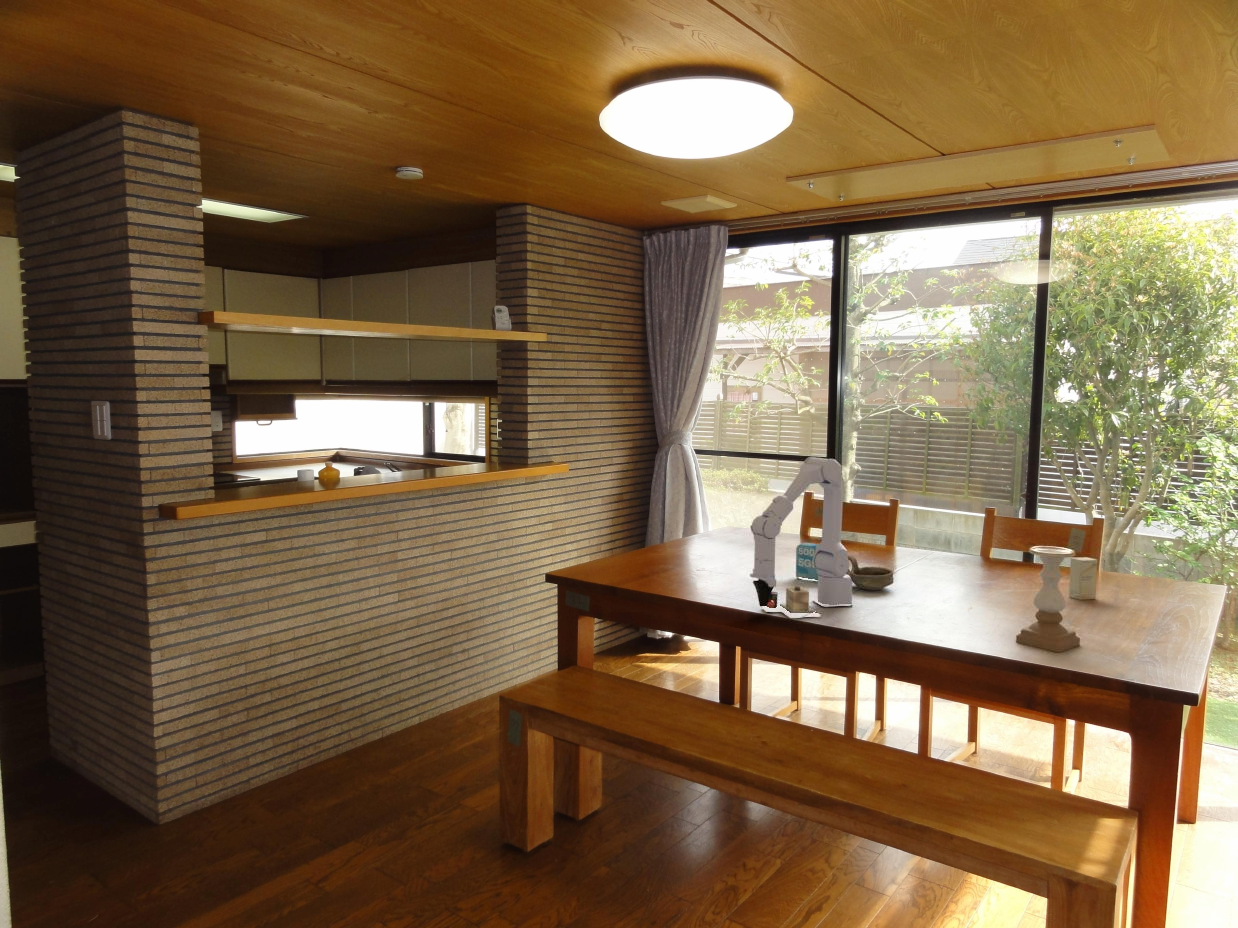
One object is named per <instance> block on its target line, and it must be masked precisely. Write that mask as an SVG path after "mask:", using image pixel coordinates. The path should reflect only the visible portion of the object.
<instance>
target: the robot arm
mask: <svg viewBox="0 0 1238 928" xmlns="http://www.w3.org/2000/svg"><path fill="white" fill-rule="evenodd" d="M842 474H843V465H841V463H839V462H838V460H836V459H834V458H821V457H815V456H809V457H807V458H806V459H805V460H804V462H803V463H801V464H800V467H799V472H798V474H797V475H796V477H795V478H794V480H792V482H791V484H790V485H789V487H788V488H787V490H786V491H785V493H784V494H783V495H777V496H776V497H774V498H773V499H772V500H771V501H772V502H771V503H770V505H769V506H768V507H767V508H766V509H765V510H763V512H762V514H761V515H758V516H756V517H755V518H753V521H752V522H751V525H750V531H751V533H752V535H753V540H754V553H753V554H754V557H753V559H754V560H753V568H752V573H750V574H749V577H751V578H753V579H754V578H755V579H756V580H753V581H752V583H753V585H754V588H755V590H756V591H755V592H756V594H757V600H758V604H759V607H762V606H767V602H768V601H769V598H770V594H771V592H773V590H774V588H776V587H777V578H776V573H775V572H776V570H775V569H776V568H775V567H776V562H775V561H776V537H777V536H778V535H779V534H780V533H781V527H782V525H783V523H784V521H785V520H786V519H787V517H789V515H790V514H791V512H792V511H793V510H794V502H795V501H796V500H797V499H798V498H799V497H800V496H801V495H802V494H803V493H804V492H805V490H806V489H808V487H809V486H810V485H813V484H818V485H819V486H820V487H821V488H822V489H823V501H822V502H823V506H822V525H821V526H822V529H821V530H822V531H821V542H819V543H817V544H818V545H817V546H816V552H815V555H814V557H813V565H814V567H815V569H817V573H818V582H817V599H818V602H820V603H822V604H829V605H837V604H838V605H839V604H853V582H852V581H851V578H850V576H849V575H847V574H846V573H847V571H848V569H849V570H850V560H848V556H847V555H848V550H847V549H846V547H845V546H844V544H842V528H843V527H842V526H843V525H842V524H843V523H842V522H843V507H844V506H843V505H844V504H843V503H844V480H843V477H842Z"/></svg>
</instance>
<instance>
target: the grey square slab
mask: <svg viewBox="0 0 1238 928" xmlns="http://www.w3.org/2000/svg"><path fill="white" fill-rule="evenodd" d="M780 606H782V607H783V608H785V609H786V610H787V611H789V612H790V613H813V612H815V611H816V612H815V613H819V614H821V613H820V612H818V611H817V610H816V609H814V608H812V607H811V606H809V609H801V610H793V609H791V608H790V607H788V606H787V605H786V603H780Z"/></svg>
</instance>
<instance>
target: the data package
mask: <svg viewBox="0 0 1238 928" xmlns="http://www.w3.org/2000/svg"><path fill="white" fill-rule="evenodd" d="M818 544H819V543H813V542H802V543H801V544H797V546H796V548H795V549H796V551H795V576H796V578H797V577H802V578H808V579H815V580H818V573H817V569H815V567H814V565H813V557H814V555H815V552H816V546H817V545H818Z"/></svg>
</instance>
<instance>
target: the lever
mask: <svg viewBox="0 0 1238 928" xmlns="http://www.w3.org/2000/svg"><path fill="white" fill-rule="evenodd" d="M777 604H778V592H777V591H772V592H771V594H770V598H769V601H768V602H767V607H769V608H776V607H777Z"/></svg>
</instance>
